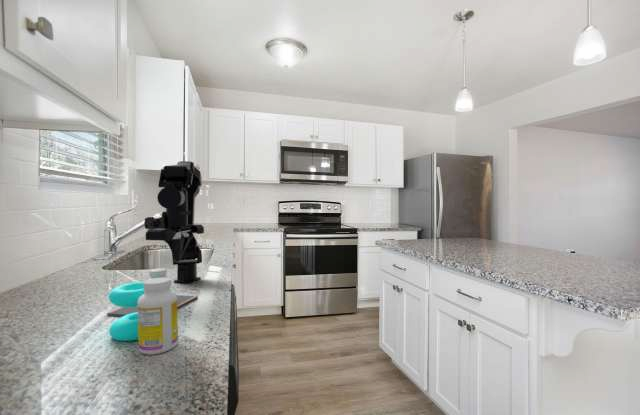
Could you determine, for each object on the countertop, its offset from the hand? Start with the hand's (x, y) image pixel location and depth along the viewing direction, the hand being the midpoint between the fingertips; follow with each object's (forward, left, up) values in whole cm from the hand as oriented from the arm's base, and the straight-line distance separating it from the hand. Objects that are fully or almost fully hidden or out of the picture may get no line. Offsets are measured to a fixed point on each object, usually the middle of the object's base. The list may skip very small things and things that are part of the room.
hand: (177, 261), depth 90 cm
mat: (+9, 0, -10) cm, 14 cm away
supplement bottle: (+29, +17, -11) cm, 35 cm away
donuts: (+24, +8, -11) cm, 28 cm away
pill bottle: (+8, 0, -10) cm, 13 cm away
